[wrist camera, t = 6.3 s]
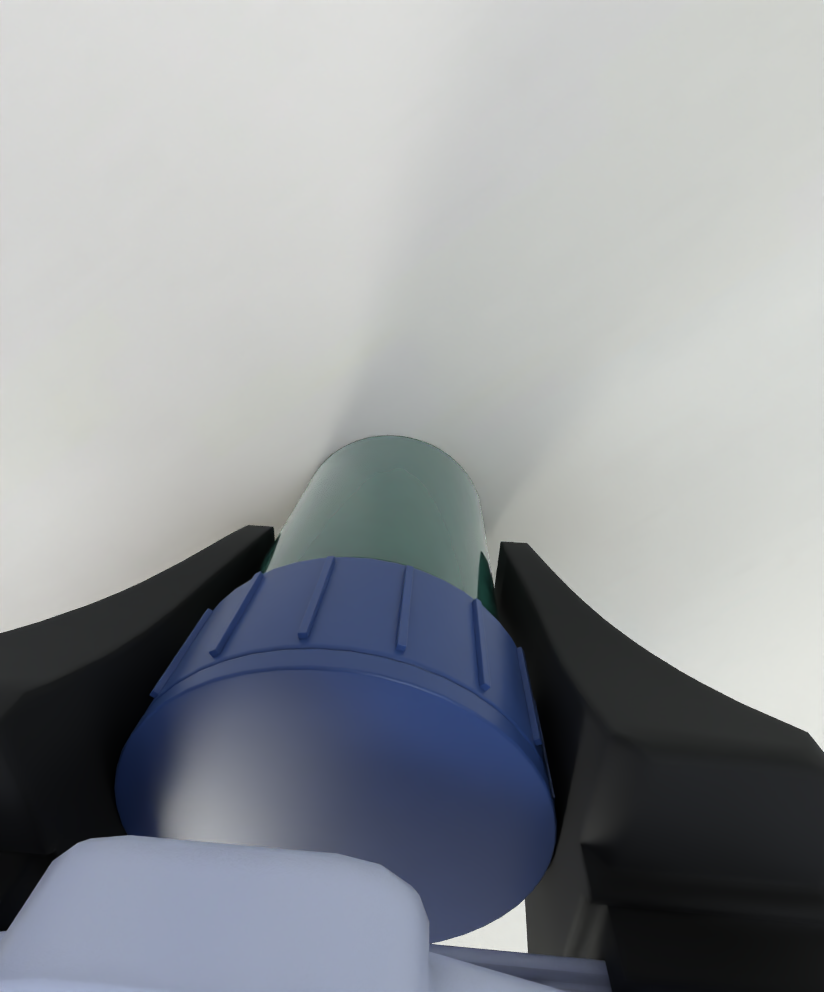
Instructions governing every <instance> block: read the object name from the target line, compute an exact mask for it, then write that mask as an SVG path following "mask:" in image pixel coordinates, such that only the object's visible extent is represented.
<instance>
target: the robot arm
mask: <svg viewBox="0 0 824 992" xmlns="http://www.w3.org/2000/svg"><path fill="white" fill-rule="evenodd" d="M274 542H275V539H274V528H273V527H269V526H254V525H248V526H245V527H243V528H241V529H239V530H237V531H235V532H233V533H232V534H230V535H228V536H226V537H224V538H223V539H221V540H219V541H217V542H216V543H214V544H212V545H211V546H209V547H207V548H205V549H203V550H202V551H200V552H198V553H196V554H195V555H193V556H191V557H189V558H188V559H186V560H184V561H182V562H180V563H178V564H176V565H174V566H173V567H171V568H169V569H167V570H165V571H163V572H161V573H159V574H157V575H155V576H153V577H151V578H149V579H147V580H145V581H143V582H141V583H139V584H137V585H135V586H133V587H130V588H128V589H126V590H124V591H121V592H119V593H117V594H114V595H112V596H109V597H107V598H105V599H102V600H100V601H97V602H95V603H92V604H90V605H87V606H84V607H81V608H78V609H75V610H72V611H70V612H67V613H64V614H61V615H58V616H55V617H52V618H49V619H46V620H43V621H41V622H37V623H34V624H31V625H28V626H24V627H21V628H17V629H14V630H10V631H7V632H3V633H0V992H824V752H823V751H822V750H821V748H820V747H819V746H818V744H817V743H816V742H815V741H814V739H813V738H812V737H811V736H810V735H809V733H808V732H806V731H803V730H801V729H799V728H796V727H794V726H792V725H790V724H787V723H785V722H783V721H780V720H778V719H776V718H774V717H771V716H769V715H767V714H764V713H762V712H760V711H758V710H755V709H753V708H751V707H749V706H746V705H744V704H742V703H740V702H738V701H736V700H734V699H732V698H730V697H728V696H726V695H724V694H722V693H720V692H718V691H716V690H714V689H712V688H710V687H708V686H706V685H704V684H702V683H701V682H699V681H697V680H695V679H694V678H692V677H690V676H688V675H686V674H685V673H683V672H681V671H679V670H678V669H676V668H674V667H673V666H671V665H670V664H668V663H666V662H665V661H663V660H661V659H660V658H658V657H657V656H655V655H653V654H652V653H650V652H649V651H647V650H646V649H644V648H643V647H641V646H640V645H638V644H637V643H635V642H634V641H633V640H631V639H630V638H629V637H627V636H626V635H624V634H623V633H622V632H620V631H619V630H618V629H616V628H615V627H614V626H612V625H611V624H610V623H609V622H607V621H606V620H605V619H603V618H602V617H601V616H600V615H599V614H598V613H596V612H595V611H594V610H593V609H592V608H591V607H590V606H588V605H587V604H586V603H585V602H584V601H583V600H582V599H581V598H580V597H578V596H577V595H576V594H575V593H574V592H573V591H572V590H571V589H570V588H569V587H568V586H567V585H566V584H565V583H564V582H563V581H562V580H561V579H560V578H559V577H558V576H557V575H556V574H555V573H554V572H553V571H552V570H551V569H550V567H549V566H548V565H547V564H546V563H545V562H544V561H543V560H542V559H541V558H540V557H539V556H538V554H537V553H536V552H535V551H534V550H533V549H532V548H531V547H530V546H529V545H528V544H527V543H515V542H501V543H500V551H499V558H498V566H497V573H496V581H495V588H494V591H495V598H496V604H497V610H498V616H499V622H500V624H501V625H502V626H503V627H504V629H505V630H506V631H507V633H508V634H509V635H510V637H511V638H512V640H513V641H514V643H515V645H516V647H517V648H519V647H522V649H523V651H524V654H525V659H526V664H527V669H528V674H529V678H530V683H531V688H532V693H533V698H534V700H535V701H536V706H537V711H538V716H539V721H540V726H541V731H542V736H543V741H544V746H545V750H546V755H547V760H548V765H549V770H550V775H551V780H552V785H553V790H554V795H555V800H554V806H555V812H556V818H557V836H556V845H555V848H554V852H553V856H552V859H551V862H550V864H549V866H548V868H547V870H546V872H545V874H544V876H543V878H542V879H541V881H540V882H539V883H538V884H537V886H536V887H535V888H534V890H533V891H532V892H531V893H530V894H529V895H528V896H527V897H526V898H525V908H526V924H527V942H528V953H519V952H509V951H498V950H488V949H477V948H466V947H456V946H445V945H435V944H429V920H428V917H427V914H426V911H425V909H424V906H423V903H422V901H421V898H420V895H419V894H418V893H417V891H416V890H415V889H414V888H413V887H412V886H411V885H410V884H408V883H407V882H405V881H404V880H402V879H401V878H400V877H398V876H397V875H395V874H394V873H392V872H391V871H390V870H388V869H387V868H385V867H384V866H382V865H381V864H377V863H373V862H369V861H365V860H361V859H357V858H353V857H349V856H345V855H341V854H337V853H326V852H314V851H303V850H292V849H280V848H269V847H258V846H247V845H235V844H224V843H213V842H202V841H190V840H179V839H168V838H156V837H145V836H134V835H127V833H126V831H125V829H124V827H123V825H122V822H121V819H120V816H119V813H118V810H117V806H116V798H115V790H114V787H115V775H116V767H117V764H118V761H119V758H120V755H121V751H122V749H123V747H124V745H125V744H126V742H127V740H128V738H129V737H130V735H131V733H132V731H133V730H134V728H135V727H136V725H137V724H138V722H139V721H140V719H141V718H142V716H143V715H144V714H145V712H146V710H147V709H148V707H149V706H150V704H151V702H152V701H153V699H154V698H153V697H152V696H150V693H151V691H152V690H153V688H154V687H155V685H156V684H157V682H158V681H159V679H160V678H161V676H162V675H163V674H164V672H165V671H166V669H167V668H168V666H169V665H170V663H171V662H172V660H173V659H174V657H175V656H176V654H177V653H178V651H179V650H180V648H181V647H182V645H183V644H184V642H185V641H186V639H187V638H188V636H189V635H190V633H191V632H192V630H193V629H194V627H195V626H196V625H197V623H198V622H199V620H200V619H201V617H202V616H203V614H204V613H205V611H206V610H207V609H208V608H209V609H211V610H212V611H213V610H214V609H215V608H216V606H217V605H218V604H219V603H220V602H221V601H222V600H223V599H224V598H226V597H227V596H228V595H229V594H230V593H231V592H233V591H234V590H235V589H236V588H238V587H240V586H241V585H243V584H244V583H246V582H248V581H249V580H251V579H252V578H253V577H254V575H255V574H256V572H257V571H258V569H259V567H260V566H261V564H262V562H263V561H264V559H265V557H266V555H267V554H268V552H269V550H270V549H271V547H272V545H273V544H274Z"/></svg>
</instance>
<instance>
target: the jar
mask: <svg viewBox="0 0 824 992" xmlns="http://www.w3.org/2000/svg"><path fill="white" fill-rule="evenodd" d="M327 556H334V557H355V558H370V559H377V560H382V561H388V562H393V563H398V564H401V565H405V566H406V565H409V566H412V567H414V568H415V569H418V570H421V571H424V572H426V573H428V574H431V575H433V576H435V577H438V578H440V579H442V580H444V581H446V582H448V583H450V584H451V585H453V586H455V587H457V588H458V589H460V590H462V591H464V592H465V593H466V594H468V595H469V596H470V597H472V598H473V599H475V598H477V599H478V600H480V601H481V603H482V606H484V607H485V608H486V609H487V610H488V611H489V612H490V613H491V614H492V615H493V616H494V617H495V618H496V619H497V620H498V621H499V616H498V610H497V604H496V598H495V591H494V585H493V579H492V573H491V566H490V560H489V554H488V548H487V542H486V535H485V529H484V523H483V517H482V510H481V504H480V500H479V497H478V494H477V491H476V489H475V487H474V485H473V483H472V481H471V479H470V478H469V476H468V475H467V473H466V472H465V471H464V470H463V469H462V467H461V466H460V465H459V464H458V463H457V462H456V461H455V460H454V459H452V458H451V457H450V456H449V455H447V454H446V453H444V452H443V451H441V450H440V449H438V448H436V447H434V446H432V445H430V444H428V443H425V442H422V441H419V440H417V439H412V438H408V437H401V436H377V437H371V438H366V439H362V440H359V441H356V442H353V443H351V444H349V445H347V446H345V447H343V448H341V449H340V450H338V451H336V452H335V453H334V454H332V455H331V456H330V457H329V458H328V459H326V460H325V462H324V463H323V464H322V465H321V466H320V467H319V468H318V470H317V471H316V473H315V474H314V476H313V477H312V479H311V481H310V483H309V484H308V486H307V488H306V489H305V491H304V493H303V494H302V496H301V498H300V500H299V501H298V503H297V505H296V506H295V508H294V510H293V511H292V513H291V515H290V516H289V518H288V520H287V522H286V523H285V525H284V527H283V528H282V530H281V532H280V533H279V535H278V537H277V539H276V540H275V542H274V544H273V545H272V547H271V549H270V550H269V552H268V554H267V555H266V557H265V559H264V561H263V562H262V564H261V566H260V567H259V569H258V571H257V572H256V573H258V572H260V571H261V572H262V574H264V573H266V572H268V571H270V570H273V569H275V568H278V567H282V566H285V565H289V564H292V563H295V562H300V561H306V560H312V559H318V558H327Z"/></svg>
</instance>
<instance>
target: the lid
mask: <svg viewBox="0 0 824 992" xmlns="http://www.w3.org/2000/svg"><path fill="white" fill-rule="evenodd" d="M150 696H152V697H153V698H154V699H153V701H152V702H151V704H150V706H149V707H148V709H147V710H146V712H145V714H144V715H143V716H142V718H141V719H140V721H139V722H138V724H137V725H136V727H135V728H134V730H133V731H132V733H131V735H130V737H129V738H128V740H127V742H126V744H125V745H124V747H123V749H122V751H121V755H120V758H119V761H118V764H117V767H116V775H115V787H114V790H115V798H116V806H117V810H118V813H119V816H120V819H121V822H122V825H123V827H124V829H125V831H126V833H127V835H134V836H145V837H156V838H168V839H179V840H190V841H202V842H213V843H224V844H235V845H247V846H258V847H269V848H280V849H292V850H303V851H314V852H326V853H337V854H341V855H345V856H349V857H353V858H357V859H361V860H365V861H369V862H373V863H377V864H381V865H382V866H384V867H385V868H387V869H388V870H390V871H391V872H392V873H394V874H395V875H397V876H398V877H400V878H401V879H402V880H404V881H405V882H407V883H408V884H410V885H411V886H412V887H413V888H414V889H415V890H416V891H417V893H418V894H419V895H420V898H421V901H422V903H423V906H424V909H425V911H426V914H427V917H428V920H429V944H430V943H435V942H440V941H444V940H448V939H451V938H454V937H458V936H461V935H464V934H467V933H469V932H471V931H474V930H476V929H479V928H481V927H484V926H486V925H487V924H489V923H491V922H493V921H495V920H497V919H498V918H500V917H502V916H503V915H505V914H506V913H508V912H509V911H510V910H512V909H513V908H515V907H516V906H518V905H519V904H520V903H521V902H522V901H523V900H524V899H525V898H526V897H527V896H528V895H529V894H530V893H531V892H532V891H533V890H534V888H535V887H536V886H537V884H538V883H539V882H540V881H541V879H542V878H543V876H544V874H545V872H546V870H547V868H548V866H549V864H550V862H551V859H552V856H553V852H554V848H555V845H556V836H557V818H556V812H555V806H554V800H555V795H554V790H553V785H552V780H551V775H550V770H549V765H548V760H547V755H546V750H545V746H544V741H543V736H542V731H541V726H540V721H539V716H538V711H537V706H536V701H535V700H534V698H533V693H532V688H531V683H530V678H529V674H528V669H527V664H526V659H525V654H524V651H523V649H522V647H519V648H517V647H516V645H515V643H514V641H513V640H512V638H511V637H510V635H509V634H508V633H507V631H506V630H505V629H504V627H503V626H502V625H501V624H500V622H499V621H498V620H497V619H496V618H495V617H494V616H493V615H492V614H491V613H490V612H489V611H488V610H487V609H486V608H485V607H484V606H482V603H481V601H480V600H478V599H477V598H475V599H473V598H472V597H470V596H469V595H468V594H466V593H465V592H464V591H462V590H460V589H458V588H457V587H455V586H453V585H451V584H450V583H448V582H446V581H444V580H442V579H440V578H438V577H435V576H433V575H431V574H428V573H426V572H424V571H421V570H418V569H415V568H414V567H412V566H409V565H406V566H405V565H401V564H398V563H393V562H388V561H382V560H377V559H370V558H355V557H334V556H327V558H318V559H312V560H306V561H300V562H295V563H292V564H289V565H285V566H282V567H278V568H275V569H273V570H270V571H268V572H266V573H264V574H262V572H261V571H260V572H258V573H256V574H255V575H254V577H253V578H252V579H251V580H249V581H248V582H246V583H244V584H243V585H241V586H240V587H238V588H236V589H235V590H234V591H233V592H231V593H230V594H229V595H228V596H227V597H226V598H224V599H223V600H222V601H221V602H220V603H219V604H218V605H217V606H216V608H215V609H214V610H213V611H212V610H211V609H209V608H208V609H207V610H206V611H205V613H204V614H203V616H202V617H201V619H200V620H199V622H198V623H197V625H196V626H195V627H194V629H193V630H192V632H191V633H190V635H189V636H188V638H187V639H186V641H185V642H184V644H183V645H182V647H181V648H180V650H179V651H178V653H177V654H176V656H175V657H174V659H173V660H172V662H171V663H170V665H169V666H168V668H167V669H166V671H165V672H164V674H163V675H162V676H161V678H160V679H159V681H158V682H157V684H156V685H155V687H154V688H153V690H152V691H151V693H150Z"/></svg>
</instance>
